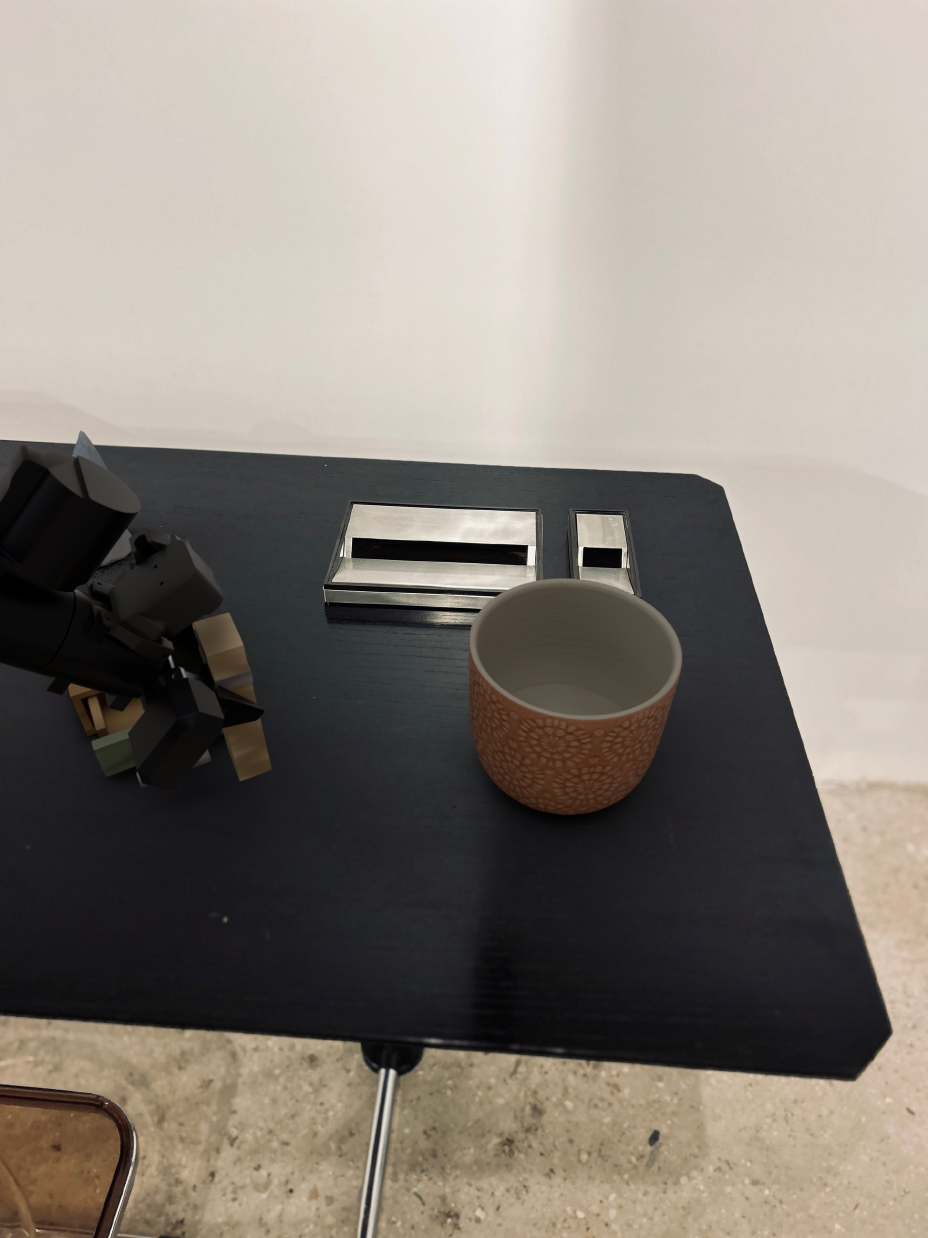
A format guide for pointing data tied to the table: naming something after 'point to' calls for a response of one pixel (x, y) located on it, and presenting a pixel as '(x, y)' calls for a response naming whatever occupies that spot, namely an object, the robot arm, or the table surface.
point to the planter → (570, 692)
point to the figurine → (89, 452)
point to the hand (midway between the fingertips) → (252, 696)
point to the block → (235, 675)
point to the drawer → (118, 735)
